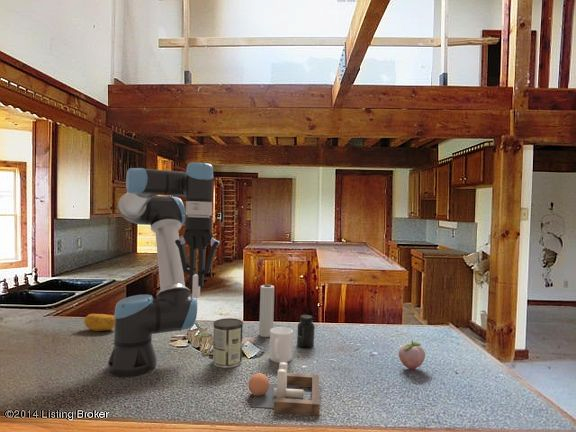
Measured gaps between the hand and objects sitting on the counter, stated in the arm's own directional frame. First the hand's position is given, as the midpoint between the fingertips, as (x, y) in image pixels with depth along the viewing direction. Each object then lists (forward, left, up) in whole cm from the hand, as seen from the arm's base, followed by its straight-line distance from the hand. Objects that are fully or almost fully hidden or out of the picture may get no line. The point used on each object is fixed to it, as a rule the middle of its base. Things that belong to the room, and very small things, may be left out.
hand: (196, 296), depth 110 cm
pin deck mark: (+24, +1, -28) cm, 37 cm away
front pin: (+24, 0, -27) cm, 36 cm away
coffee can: (+5, +23, -28) cm, 36 cm away
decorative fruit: (+69, +26, -28) cm, 78 cm away
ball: (+19, +1, -25) cm, 31 cm away
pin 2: (+26, -2, -28) cm, 38 cm away
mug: (+23, +27, -28) cm, 45 cm away
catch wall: (+31, +1, -28) cm, 41 cm away
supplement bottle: (+32, +43, -28) cm, 60 cm away
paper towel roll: (+15, +54, -28) cm, 62 cm away
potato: (-56, +48, -28) cm, 79 cm away
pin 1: (+26, +3, -28) cm, 38 cm away
